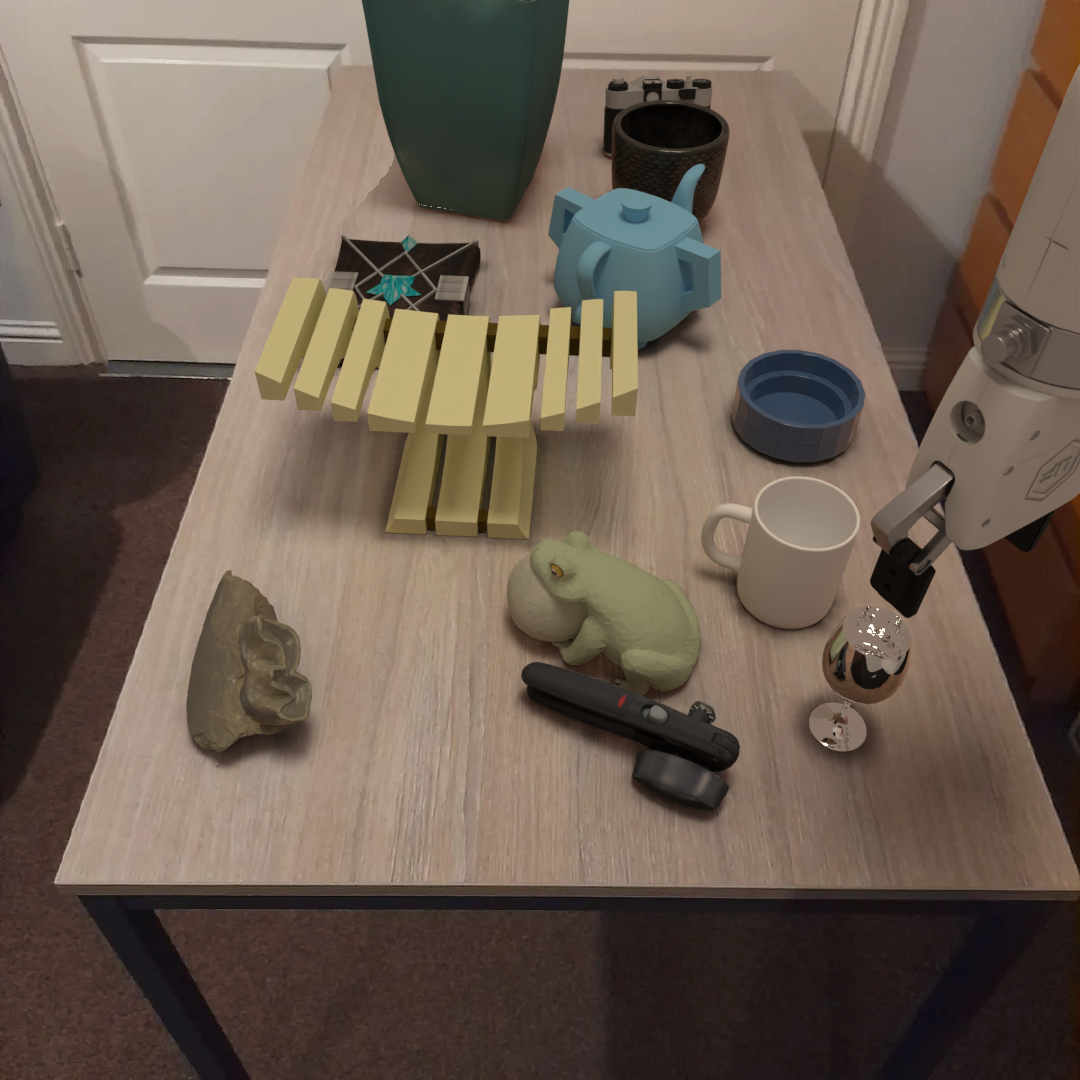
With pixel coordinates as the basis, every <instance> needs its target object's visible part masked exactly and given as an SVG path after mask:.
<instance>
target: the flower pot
mask: <svg viewBox="0 0 1080 1080" xmlns="http://www.w3.org/2000/svg"><path fill="white" fill-rule="evenodd" d="M361 4H362V9H363V15H364V21H365V27H366V32H367V38H368V43H369V50H370V56H371V61H372V68H373V73H374V74H373V75H374V79H375V87H376V91H377V98H378V103H379V106H380V111H381V115H382V118H383V121H384V125H385V129H386V132H387V135H388V138H389V142H390V145H391V147H392V150H393V153H394V156H395V158H396V160H397V163H398V166H399V168H400V171H401V174H402V176H403V179H404V180H405V182H406V184H407V186H408V188H409V191H410V193H411V195H412V196H413V198H414V200H415V202H416V204H417V203H418V204H417V205H418V207H419V208H421V209H426V210H431V211H438V212H444V213H449V214H457V215H464V216H471V217H476V218H483V219H489V220H490V219H491V220H497V221H503V222H506V221H509V220H511V219H512V217H513V216H514V214H515V212H516V210H517V208H518V206H519V205H520V203H521V201H522V199H523V197H524V195H525V193H526V192H527V190H528V188H529V186H530V184H531V183H532V181H533V178H534V176H535V174H536V171H537V167H538V165H539V162H540V159H541V156H542V153H543V149H544V147H545V144H546V140H547V136H548V134H549V129H550V125H551V121H552V119H553V114H554V111H555V106H556V102H557V97H558V91H559V86H560V82H561V81H560V80H561V75H562V69H563V62H564V54H565V45H566V38H567V27H568V19H569V18H568V17H569V7H570V0H361ZM419 204H420V205H419ZM421 204H422V205H421ZM423 205H427V206H423ZM430 206H432V207H430ZM437 207H441V208H437ZM444 208H446V209H444ZM451 209H452V210H451Z"/></svg>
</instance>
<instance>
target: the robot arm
mask: <svg viewBox="0 0 1080 1080" xmlns="http://www.w3.org/2000/svg"><path fill="white" fill-rule="evenodd" d="M972 339H973V346H972V347H971V348H970V349H969V350H968V352H967V354H966V356H964V359H963V360H962V363H961V364H960V366H959V367H958V369H957V371H956V373H955V375H954V377H953V378H952V380H951V382H950V384H949V386H948V388H947V389H946V391H945V393H944V395H943V396H942V399H941V401H940V402H939V405H938V406H937V408H936V411H935V413H934V415H933V417H932V419H931V420H930V422H929V426H928V428H927V430H926V432H925V434H924V436H923V438H922V441H921V442H920V445H919V447H918V450H917V452H916V455H915V458H914V460H913V462H912V464H911V467H910V471H909V472H908V473H909V474H908V476H907V479H906V484H905V489H904V490H903V491H901V492H900V493H899V494H898V495H896V496H895V497H894V498H892V500H890V501H889V502H888V503H886V505H885V506H883V507H882V508H881V509H880V510H879V511H877V512H876V513H875V514H874V515H873V517H872V518H871V520H870V527H871V530H872V535H873V536H872V541H873V542H874V544H876V545H877V546H879V547H880V548H881V550H880V552H879V556H877V557H878V558H877V560H876V563H875V565H874V568H873V571H872V573H871V575H870V578H869V584H870V586H871V587H872V588H873V590H875V591H876V592H877V594H878V595H879V596H880V597H881V598H882V599H883V600H884V601H886V602H888V603H889V604H890V606H892V607H893V609H895V610H896V611H897V612H898V613H900V614H901V615H902V616H903V617H904V618H905V619H910V618H912V617H914V616H916V615H917V614H918V612H919V610H920V607H921V605H922V603H923V601H924V599H925V597H926V594H927V592H928V590H929V588H930V586H931V583H932V582H933V579H934V577H935V574H936V573H937V570H936V569H935V567H934V566H933V564H934V563H935V562H936V560H937V559H938V558H939V557H940V556H941V555H942V554H943V552H945V550H946V549H947V548H948V547H949V546H951V544H954V545H956V547H957V548H958V549H959V550H961V551H974V550H978V549H979V550H980V549H982V548H985V547H987V546H989V545H991V544H993V543H995V542H997V541H999V540H1002V539H1006V540H1007V541H1008V542H1009V543H1010V544H1012V545H1013V546H1014V547H1016V548H1017V550H1019V551H1021V552H1023V553H1029V552H1030V551H1032V550H1034V549H1035V548H1036V547H1037V545H1038V543H1039V542H1040V540H1041V538H1042V536H1043V534H1044V532H1045V531H1046V529H1047V527H1048V526H1049V524H1050V522H1051V520H1052V518H1053V517H1054V515H1055V513H1056V511H1057V509H1059V508H1060V507H1062V506H1064V505H1065V504H1067V503H1069V502H1070V501H1072V500H1073V499H1074V498H1076V497H1077V496H1079V494H1080V63H1079V64H1078V66H1077V68H1076V70H1075V72H1074V74H1073V76H1072V79H1071V80H1070V82H1069V85H1068V87H1067V90H1066V92H1065V94H1064V97H1063V100H1062V103H1061V105H1060V107H1059V109H1058V112H1057V115H1056V118H1055V121H1054V122H1053V126H1052V128H1051V131H1050V133H1049V136H1048V138H1047V140H1046V143H1045V146H1044V148H1043V151H1042V153H1041V156H1040V158H1039V161H1038V164H1037V166H1036V169H1035V171H1034V173H1033V177H1032V178H1031V181H1030V184H1029V186H1028V189H1027V191H1026V194H1025V197H1024V198H1023V201H1022V204H1021V207H1020V209H1019V212H1018V215H1017V217H1016V220H1015V222H1014V224H1013V228H1012V230H1011V231H1010V235H1009V238H1008V240H1007V243H1006V245H1005V249H1004V250H1003V253H1002V255H1001V258H1000V261H999V263H998V265H997V269H996V270H995V273H994V276H993V279H992V281H991V284H990V285H989V288H988V291H987V294H986V296H985V299H984V301H983V304H982V306H981V309H980V312H979V314H978V316H977V320H976V322H975V325H974V327H973V331H972ZM942 500H945V501H944V502H945V503H944V515H943V514H942V513H940V512H939V511H938V510H937V509H936V508H934V507H936V506H937V505H938V504H939V503H940V502H941V501H942ZM922 517H923V519H925V520H927V521H928V522H929V523H930V524H931V525H932V526H934V527H935V528H936V529H937V530H938V531H937V532H936V533H935V534H934V535H933V536H932V538H930V539H929V540H928V542H927V543H926V544H925V545H924V546H923V547H920V546H919V545H918V544H917V543H915V541H913V540H912V539H911V538H910V537H909V531H910V530H911V529H912V528H913V526H914V525H915V524H916V523H917V522H918V521H919V520H920V519H922Z"/></svg>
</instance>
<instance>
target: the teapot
mask: <svg viewBox="0 0 1080 1080" xmlns="http://www.w3.org/2000/svg"><path fill="white" fill-rule="evenodd" d="M704 170H705V165H703V164H698V165H695V166H693V167H692V168H691V169H689V170H688V171H687V172H686V174H685V175H684V176H683V178H682V180H681V182H680V184H679V186H678V188H677V190H676V192H675V194H674V197H673V199H672V201H671V202H669V201H667V200H664V199H662V198H659V197H656V196H653V195H650V194H647V193H644V192H640V191H637V190H632V189H626V188H617V189H614V190H613V189H611V190H610V191H607V192H606V193H604V194H602V195H601V196H599V197H597V198H596V199H594V198H593V197H591V196H588V195H586V194H585V193H582V192H581V191H578V190H575V189H574V188H571V187H570V186H567V187H566V188H564V189H562V190H560V191H559V192H557V193H555V195H554V199H553V206H552V210H551V216H550V220H549V221H550V222H549V227H548V231H547V232H548V233H547V236H548V237H549V238H550V239H551V241H552V242H553V243H554V245H555V246H556V247H557V248H558V254H557V256H556V262H555V266H554V274H553V288H554V292H555V294H556V296H557V298H558V300H559V302H560V304H561V305H562V306H563V308H565V307H571V322H573V323H574V324H575V325H579V326H581V311H582V301H583V300H592V299H603V328H611V325H612V312H613V299H614V291H636V292H637V349H638V350H641V349H643V348H645V347H646V346H647V345H648V342H652V341H654V340H657V339H658V338H660V337H662V336H664V335H665V334H666V333H668V332H670V331H671V330H672V329H674V328H675V327H676V326H678V325H679V324H680V323H681V322H682V321H684V320H685V318H687V317H688V316H689V315H690V314H691V313H692V312H693V311H699V310H703V309H707V308H710V307H712V306H713V305H715V304H716V303H717V302H718V301H720V300H721V299H722V250H721V249H718V248H715V247H713V246H710V245H708V244H705V242H704V238H703V234H702V230H701V227H700V223H698V220H697V218H696V217H695V216H694V215H693V214H692V206H693V196H694V191H695V188H696V185H697V182H698V181H699V179H700V177H701V175H702V174H703V172H704Z"/></svg>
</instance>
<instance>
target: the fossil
mask: <svg viewBox="0 0 1080 1080" xmlns="http://www.w3.org/2000/svg"><path fill="white" fill-rule="evenodd" d="M299 637H300V636H299V634H298V633H297V632H296V630H295V629H294V628H292V627H291V626H290V625H287V624H285V623H282V622H280V621H278V617H277V613H276V610H275V607H274V606H273V605H272V604H271V603H270V602H269V601H268V598H267V596H265V595H263V594H262V592H261V591H260V589H258V588H257V587H256V586H254V584H252V582H251V581H248V580H246V579H243V578H242V577H240V576H238V575H233V574H232V570H231V569H228V570H226V572H224V574H223V575H222V577H221V579H220V580H219V583H218V584H217V587H216V589H215V592H214V595H213V597H212V599H211V602H210V604H209V607H208V610H207V612H206V614H205V617H204V622H203V624H202V629H201V631H200V634H199V638H198V641H197V645H196V649H195V651H194V655H193V659H192V662H191V669H190V675H189V681H188V687H187V696H186V702H185V703H186V704H185V707H186V723H187V726H188V733H189V735H190V736H192V738H193V739H194V741H195V743H196V744H197V745H198V746H199V747H200V748H202V749H204V750H207V751H209V750H210V749H211V750H212V751H213V752H216V753H219V752H224V751H225V750H227V749H229V747H230V746H231V745H234V743H236V742H237V741H238V740H239V739H241V738H244V737H247V736H254V735H274V734H277V733H279V732H281V731H283V730H284V726H287V725H288V726H289V725H294V724H297V723H299V722H300V723H302V722H305V721H306V720H307V719H308V716H309V714H310V709H311V703H312V696H313V691H312V683H311V681H309V679H308V677H306V676H305V675H303V674H301V673H299V672H296V671H297V669H298V667H299V665H300V661H301V653H302V651H301V650H302V649H301V647H302V646H301V641H300V638H299Z"/></svg>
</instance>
